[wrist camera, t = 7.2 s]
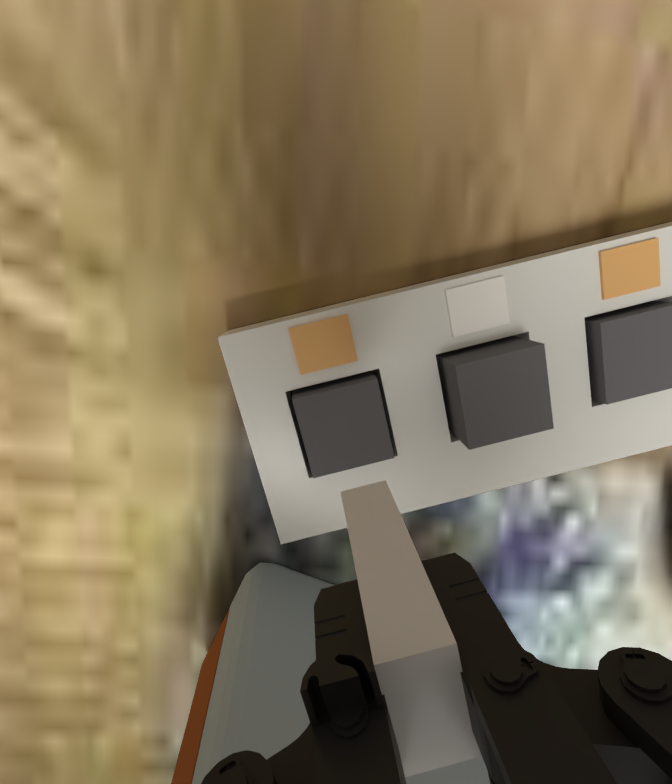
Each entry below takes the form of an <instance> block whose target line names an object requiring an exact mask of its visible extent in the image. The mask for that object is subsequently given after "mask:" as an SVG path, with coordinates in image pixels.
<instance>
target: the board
mask: <svg viewBox="0 0 672 784" xmlns="http://www.w3.org/2000/svg"><path fill="white" fill-rule="evenodd" d="M649 301H666V302H672V222H668V223H664V224H660V225H656V226H652V227H648V228H644V229H640V230H635V231H631V232H627V233H623V234H619V235H615V236H611V237H607V238H603V239H599V240H595V241H591V242H587V243H582V244H578V245H574V246H570V247H566V248H562V249H558V250H554V251H550V252H546V253H542V254H538V255H534V256H530V257H525V258H521V259H517V260H513V261H509V262H505V263H501V264H497V265H493V266H489V267H485V268H481V269H477V270H472V271H468V272H464V273H460V274H456V275H452V276H448V277H444V278H440V279H436V280H432V281H428V282H424V283H420V284H415V285H411V286H407V287H403V288H399V289H395V290H391V291H387V292H383V293H379V294H375V295H371V296H367V297H362V298H358V299H354V300H350V301H346V302H342V303H338V304H334V305H330V306H326V307H322V308H318V309H314V310H310V311H305V312H301V313H297V314H293V315H289V316H285V317H281V318H277V319H273V320H269V321H265V322H261V323H257V324H252V325H248V326H244V327H240V328H236V329H232V330H228V331H226V332H225V333H223V334H222V335H220V336H219V337H217V338H218V341H219V345H220V348H221V351H222V354H223V358H224V361H225V364H226V367H227V371H228V374H229V377H230V380H231V384H232V387H233V390H234V393H235V397H236V400H237V403H238V406H239V410H240V413H241V416H242V419H243V423H244V426H245V429H246V432H247V436H248V439H249V442H250V445H251V449H252V452H253V455H254V458H255V462H256V465H257V468H258V471H259V475H260V478H261V481H262V484H263V488H264V491H265V494H266V497H267V501H268V504H269V507H270V510H271V514H272V517H273V520H274V523H275V527H276V530H277V533H278V536H279V540H280V543H281V544H285V543H289V542H293V541H296V540H300V539H304V538H308V537H312V536H316V535H320V534H324V533H328V532H332V531H336V530H340V529H344V528H347V523H346V518H345V513H344V508H343V503H342V498H341V491H345V490H349V489H353V488H357V487H360V486H364V485H368V484H372V483H376V482H380V481H384V480H386V482H387V484H388V486H389V488H390V491H391V493H392V495H393V498H394V500H395V502H396V505H397V507H398V509H399V512H400V514H403V513H407V512H411V511H415V510H419V509H423V508H426V507H430V506H434V505H438V504H442V503H446V502H450V501H454V500H458V499H462V498H466V497H470V496H474V495H478V494H482V493H486V492H489V491H493V490H497V489H501V488H505V487H509V486H513V485H517V484H521V483H525V482H529V481H533V480H537V479H541V478H545V477H549V476H552V475H556V474H560V473H564V472H568V471H572V470H576V469H580V468H584V467H588V466H592V465H596V464H600V463H604V462H608V461H612V460H616V459H619V458H623V457H627V456H631V455H635V454H639V453H643V452H647V451H651V450H655V449H659V448H663V447H667V446H671V445H672V388H671V389H667V390H663V391H659V392H655V393H651V394H647V395H643V396H639V397H635V398H631V399H627V400H623V401H619V402H615V403H611V404H607V405H606V404H604V403H601V402H599V401H596V400H594V399H592V398H591V390H590V378H589V367H588V355H587V343H586V331H585V320H584V318H585V317H589V316H593V315H597V314H601V313H605V312H609V311H613V310H617V309H621V308H625V307H629V306H633V305H637V304H641V303H645V302H649ZM509 336H517V337H520V338H524V339H528V340H532V341H536V342H540V343H543V344H544V345H545V354H546V363H547V372H548V381H549V390H550V399H551V408H552V417H553V426H554V429H550V430H546V431H542V432H538V433H534V434H530V435H526V436H522V437H518V438H514V439H510V440H506V441H502V442H498V443H494V444H490V445H486V446H483V447H479V448H475V449H471V450H469V449H468V448H467V447H466V446H465V445H464V444H463V443H462V442H461V441H460V440H459V439H458V438H457V437H456V436H455V435H454V434H453V433H452V432H451V431H450V430H449V427H448V422H447V416H446V411H445V405H444V399H443V394H442V388H441V382H440V377H439V371H438V366H437V360H436V354H440V353H444V352H448V351H452V350H456V349H460V348H464V347H468V346H472V345H476V344H480V343H484V342H488V341H492V340H496V339H500V338H504V337H509ZM371 370H373V373H374V375H375V376H376V378H377V379H378V384H379V388H380V393H381V398H382V402H383V407H384V411H385V416H386V421H387V425H388V430H389V434H390V439H391V444H392V448H393V453H394V458H392V459H388V460H384V461H380V462H376V463H372V464H368V465H365V466H361V467H357V468H353V469H349V470H345V471H341V472H337V473H333V474H329V475H325V476H321V477H317V478H313V475H312V472H311V468H310V464H309V461H308V457H307V453H306V450H305V446H304V442H303V439H302V435H301V431H300V428H299V424H298V420H297V417H296V413H295V409H294V406H293V402H292V396H291V392H290V391H291V390H295V389H299V388H303V387H307V386H311V385H315V384H319V383H323V382H327V381H331V380H335V379H339V378H343V377H347V376H351V375H355V374H359V373H363V372H367V371H371Z"/></svg>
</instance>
